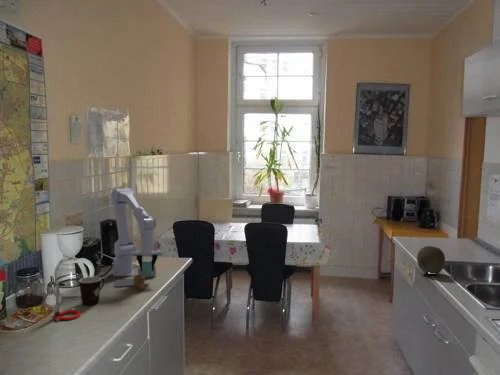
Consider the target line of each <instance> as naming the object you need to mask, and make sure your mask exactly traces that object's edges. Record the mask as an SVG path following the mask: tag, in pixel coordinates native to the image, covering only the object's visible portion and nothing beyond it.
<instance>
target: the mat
mask: <svg viewBox="0 0 500 375" xmlns="http://www.w3.org/2000/svg"><path fill="white" fill-rule="evenodd" d="M131 287H133V288H134V278H127V279H126V278H123V279H116V280H115V281H114V284H113V287H112V288H131Z"/></svg>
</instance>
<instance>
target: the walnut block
mask: <svg viewBox="0 0 500 375" xmlns="http://www.w3.org/2000/svg"><path fill="white" fill-rule="evenodd" d="M133 279H134V287H133V292H145V287H146V286H145V285H146V284H145V282H146V280H145V279H146V278H145V275H138V274H135V275H133Z"/></svg>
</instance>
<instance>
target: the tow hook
mask: <svg viewBox="0 0 500 375" xmlns="http://www.w3.org/2000/svg"><path fill="white" fill-rule="evenodd" d="M67 314H75V315H73V316H63V315H67ZM53 316H54V319H55V321H56V322H60V321H71V320H76V319H78V318H80V317H81V316H82V312H81V311H79V310H74V309H73V310H72V309H70V310H63V311H60V284H57V285H56V291H55V304H54V313H53Z"/></svg>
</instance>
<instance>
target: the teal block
mask: <svg viewBox="0 0 500 375" xmlns="http://www.w3.org/2000/svg"><path fill="white" fill-rule="evenodd" d="M142 275H152V259H151V260H149V259H147V260H145V259H144V260H143V259H142Z"/></svg>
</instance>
